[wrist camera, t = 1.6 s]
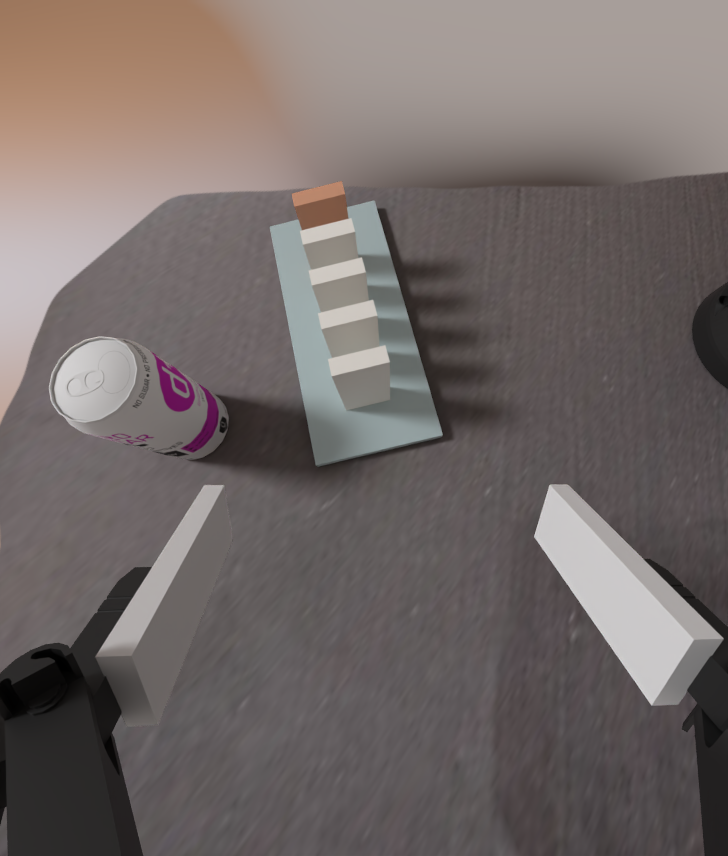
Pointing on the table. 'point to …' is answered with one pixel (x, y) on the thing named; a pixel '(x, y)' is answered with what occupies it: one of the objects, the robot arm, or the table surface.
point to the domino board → (326, 415)
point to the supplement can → (136, 399)
